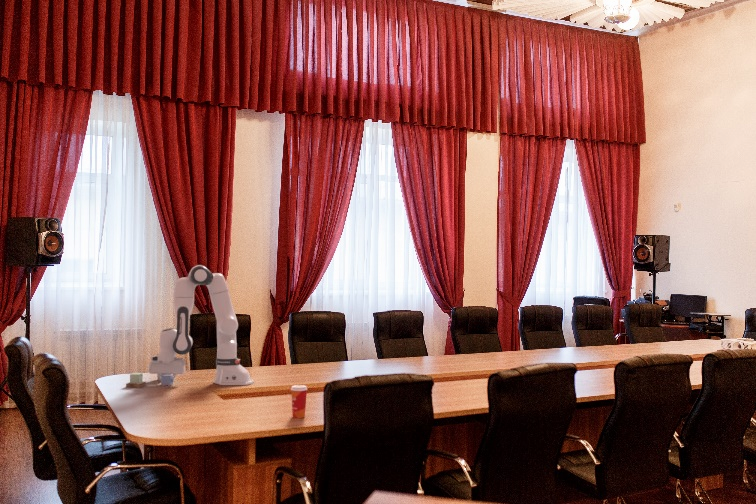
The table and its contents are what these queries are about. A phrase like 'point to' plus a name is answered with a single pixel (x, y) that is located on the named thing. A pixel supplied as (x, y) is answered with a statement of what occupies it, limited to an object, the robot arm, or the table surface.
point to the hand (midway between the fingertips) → (167, 381)
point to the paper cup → (298, 400)
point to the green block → (136, 378)
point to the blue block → (166, 380)
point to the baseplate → (135, 385)
